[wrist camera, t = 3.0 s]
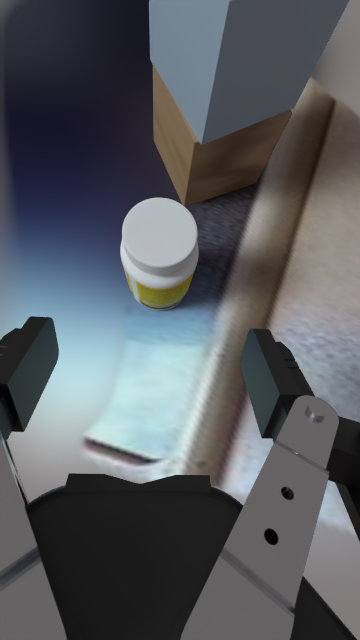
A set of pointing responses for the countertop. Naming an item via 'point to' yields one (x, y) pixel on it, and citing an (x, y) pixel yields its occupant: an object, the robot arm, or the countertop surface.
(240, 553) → the robot arm
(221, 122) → the slate block
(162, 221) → the supplement bottle
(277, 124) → the walnut block
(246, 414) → the countertop surface
